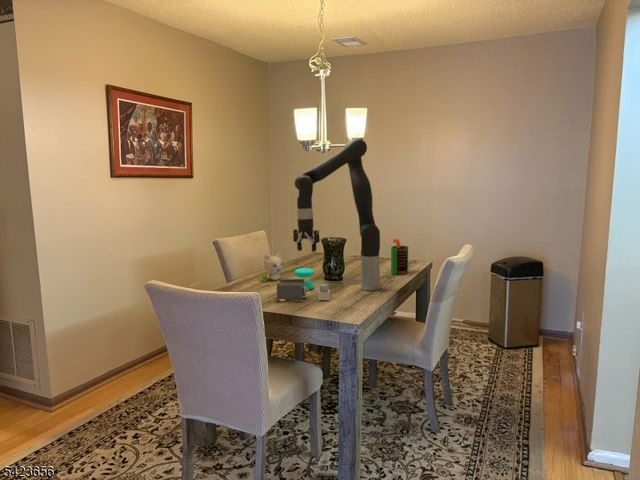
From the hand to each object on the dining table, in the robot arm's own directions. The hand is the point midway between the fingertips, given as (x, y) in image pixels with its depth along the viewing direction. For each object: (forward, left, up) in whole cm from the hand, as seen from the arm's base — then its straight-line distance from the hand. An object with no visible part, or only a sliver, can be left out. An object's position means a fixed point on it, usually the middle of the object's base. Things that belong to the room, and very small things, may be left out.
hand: (306, 251), depth 224 cm
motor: (-48, -47, -22) cm, 71 cm away
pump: (-9, +8, -22) cm, 25 cm away
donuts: (+3, -13, -22) cm, 26 cm away
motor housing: (+7, +6, -22) cm, 24 cm away
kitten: (+23, -33, -22) cm, 46 cm away
